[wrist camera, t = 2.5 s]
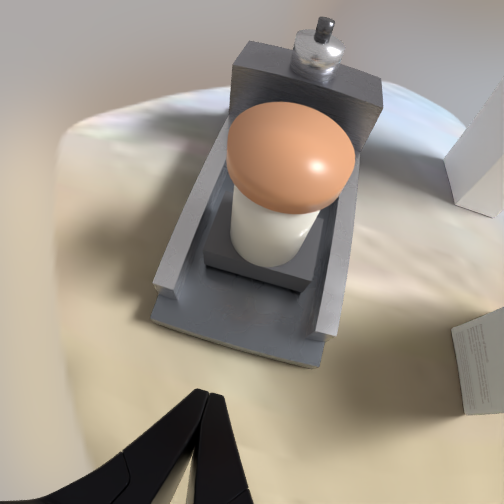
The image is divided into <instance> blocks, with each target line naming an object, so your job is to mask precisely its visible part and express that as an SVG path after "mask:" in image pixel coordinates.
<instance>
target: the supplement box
mask: <svg viewBox="0 0 504 504" xmlns="http://www.w3.org/2000/svg"><path fill="white" fill-rule="evenodd" d="M451 332H452V338H453V343H454V348H455V353H456V359H457V365H458V371H459V378H460V384H461V392H462V399H463V407H464V413H465V415H485V414H497V413H504V307H502V308H500V309H497V310H495V311H493V312H491V313H488V314H486V315H483V316H481V317H479V318H476V319H474V320H471V321H469V322H466V323H464V324H461V325H459V326H456V327H453V328H452V329H451Z"/></svg>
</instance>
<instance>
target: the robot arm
mask: <svg viewBox="0 0 504 504" xmlns="http://www.w3.org/2000/svg"><path fill="white" fill-rule="evenodd" d="M192 454H193V455H192ZM191 456H192V461H191V467H190V475H189V482H188V490H187V498H186V504H254V503H253V500H252V497H251V493H250V490H249V489H248V484H247V480H246V477H245V473H244V470H243V466H242V463H241V459H240V456H239V452H238V449H237V445H236V441H235V437H234V434H233V430H232V426H231V422H230V418H229V414H228V410H227V406H226V402H225V398H224V396H222V395H219V394H215V393H210V394H209V392H208V391H205V390H201V389H198V388H197V389H194V390H193V391H192V392H191V393H190V394H189V395H188V396H186V397H185V398H184V399H183V400H182V401H181V402H180V403H178V404H177V405H176V406H175V407H174V408H173V409H171V410H170V411H169V412H168V413H167V414H166V415H164V416H163V417H162V418H161V419H160V420H159V421H157V422H156V423H155V424H154V425H153V426H151V427H150V428H149V429H148V430H147V431H145V432H144V433H143V434H142V435H141V436H139V437H138V438H137V439H136V440H134V441H133V442H132V443H131V444H129V445H128V446H127V447H126V448H125V449H123V450H122V452H119V453H118V454H117V455H116V456H114V457H113V458H112V459H110V460H109V461H108V462H106V463H105V464H103V465H102V466H101V467H99V468H98V469H96V470H94V471H93V472H91V473H89V474H88V475H86V476H84V477H82V478H80V479H79V480H77V481H75V482H73V483H71V484H69V485H67V486H65V487H63V488H61V489H59V490H58V491H55V492H53V493H51V494H49V495H47V496H44V497H41V498H37V499H32V500H20V501H0V504H170V502H171V500H172V498H173V496H174V493H175V491H176V489H177V487H178V485H179V483H180V481H181V479H182V476H183V474H184V472H185V470H186V468H187V466H188V464H189V461H190V459H191Z"/></svg>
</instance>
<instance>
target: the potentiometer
mask: <svg viewBox="0 0 504 504" xmlns="http://www.w3.org/2000/svg"><path fill="white" fill-rule="evenodd" d="M334 24H335V21H334V20H332V19H330V18H327V17H319V20H318V24H317V27H316V30H310V29H308V30H307V29H306V30H301V31H299V32H297V34H296V38H295V43H294V47H293V51H292V55H291V60H290V67H291V69H292V70H293V71H294V72H295V73H297V74H298V75H300V76H302V77H304V78H306V79H309V80H313V81H319V82H326V81H331V80H333V79H334V78H335V76H336V74H337V71H338V68H339V65H340V62H341V59H342V57H343V54H344V51H345V45H344V43H343V42H342V41H341V40H339V39H338V38H337V37H335V36H333V35H331V34H332V31H333V27H334Z"/></svg>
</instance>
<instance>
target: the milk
mask: <svg viewBox="0 0 504 504" xmlns="http://www.w3.org/2000/svg"><path fill="white" fill-rule="evenodd" d="M443 161H444V164H445V168H446V171H447V175H448V178H449V182H450V186H451V190H452V194H453V198H454V203H455V205H457V206H460V207H463V208H466V209H469V210H472V211H475V212H478V213H481V214H483V215H486V216H489V217H492V218H495V217H496V216H497V215H498V214H500V213H501V212H502V211H503V210H504V77H503V78H502V80H501V81H500V83H499V84H498V86H497V87H496V89H495V90H494V92H493V93H492V94H491V96H490V97H489V99H488V100H487V101H486V103H485V104H484V106H483V107H482V108H481V110H480V111H479V113H478V114H477V115H476V117H475V118H474V120H473V121H472V122H471V123H470V125H469V126H468V128H467V129H466V130H465V132H464V133H463V134H462V135H461V137H460V138H459V139H458V141H457V142H456V143H455V145H454V146H453V147H452V148H451V150H450V151H449V152H448V154H447V155H446V156H445V157H444V159H443Z"/></svg>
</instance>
